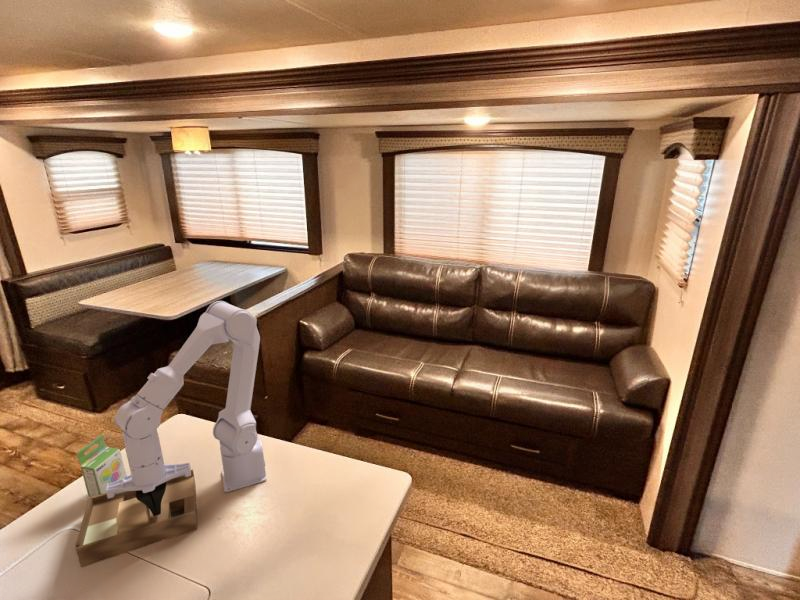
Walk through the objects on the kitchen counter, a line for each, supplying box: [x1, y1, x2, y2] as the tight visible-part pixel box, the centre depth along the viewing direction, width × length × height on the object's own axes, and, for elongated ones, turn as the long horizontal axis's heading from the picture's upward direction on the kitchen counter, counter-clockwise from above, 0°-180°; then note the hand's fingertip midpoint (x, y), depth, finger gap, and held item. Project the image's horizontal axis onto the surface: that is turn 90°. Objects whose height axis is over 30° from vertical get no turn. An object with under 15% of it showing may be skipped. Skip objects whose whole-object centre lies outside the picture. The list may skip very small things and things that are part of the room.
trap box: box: [74, 469, 198, 568], centre depth 88 cm, size 20×14×5 cm
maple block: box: [116, 498, 151, 534], centre depth 84 cm, size 5×5×4 cm
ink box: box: [76, 433, 128, 498], centre depth 95 cm, size 7×4×13 cm, turn 169°
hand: (157, 511), depth 86 cm, fingers closed
